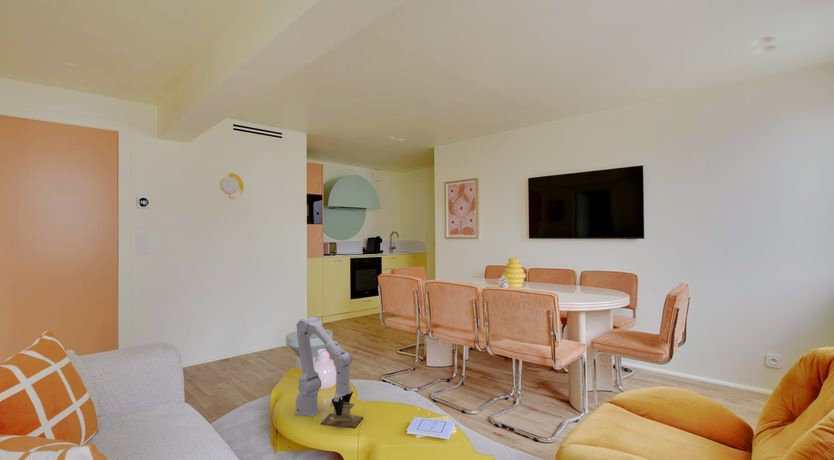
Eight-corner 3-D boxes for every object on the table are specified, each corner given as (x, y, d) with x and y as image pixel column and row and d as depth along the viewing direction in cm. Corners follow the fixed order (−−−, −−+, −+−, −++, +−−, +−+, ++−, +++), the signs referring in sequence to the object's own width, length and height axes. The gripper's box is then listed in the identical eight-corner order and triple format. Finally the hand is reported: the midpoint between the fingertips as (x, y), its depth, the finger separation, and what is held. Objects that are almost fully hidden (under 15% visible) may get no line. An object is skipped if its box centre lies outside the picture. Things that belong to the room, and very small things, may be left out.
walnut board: (320, 424, 173) (320, 422, 173) (330, 415, 183) (330, 413, 183) (355, 428, 170) (355, 426, 170) (363, 418, 180) (363, 416, 180)
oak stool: (350, 422, 173) (350, 406, 174) (329, 420, 176) (329, 404, 176) (354, 418, 177) (354, 402, 178) (333, 416, 180) (333, 400, 180)
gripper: (344, 387, 169) (344, 419, 169) (357, 376, 183) (356, 406, 183) (329, 385, 171) (329, 418, 170) (342, 375, 185) (342, 404, 184)
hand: (342, 411), depth 177 cm, fingers open, 7 cm apart
